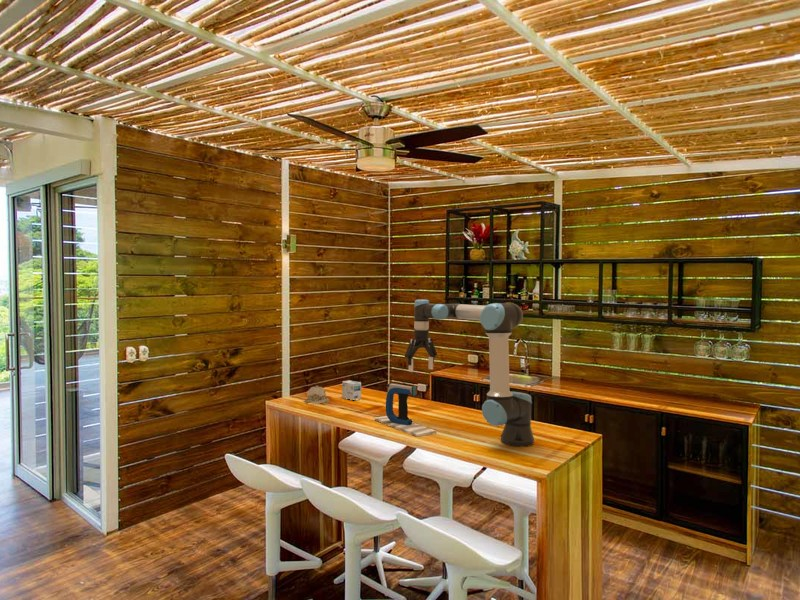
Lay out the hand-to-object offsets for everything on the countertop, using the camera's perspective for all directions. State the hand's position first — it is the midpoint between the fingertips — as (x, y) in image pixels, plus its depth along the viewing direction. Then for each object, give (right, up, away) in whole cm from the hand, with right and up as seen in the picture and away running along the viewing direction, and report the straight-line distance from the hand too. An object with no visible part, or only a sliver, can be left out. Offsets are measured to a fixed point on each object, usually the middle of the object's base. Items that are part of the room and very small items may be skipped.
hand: (420, 370), depth 277 cm
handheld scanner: (-11, -26, -4) cm, 29 cm away
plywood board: (-9, -28, -6) cm, 30 cm away
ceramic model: (-61, -25, +43) cm, 79 cm away
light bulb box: (-41, -25, +54) cm, 72 cm away
